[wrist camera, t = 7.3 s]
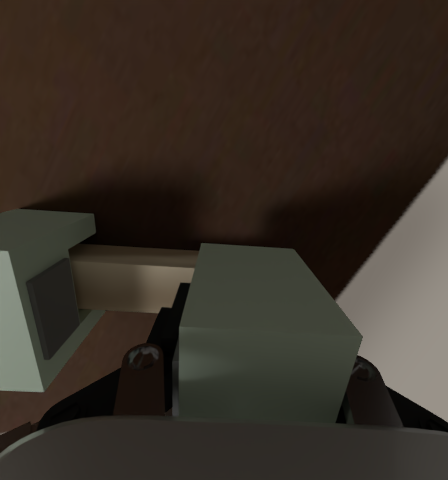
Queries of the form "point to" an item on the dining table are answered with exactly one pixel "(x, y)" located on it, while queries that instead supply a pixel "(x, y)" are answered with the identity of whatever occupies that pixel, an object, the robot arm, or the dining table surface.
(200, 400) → the pale sage green block
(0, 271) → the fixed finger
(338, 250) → the dining table surface
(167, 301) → the rail
